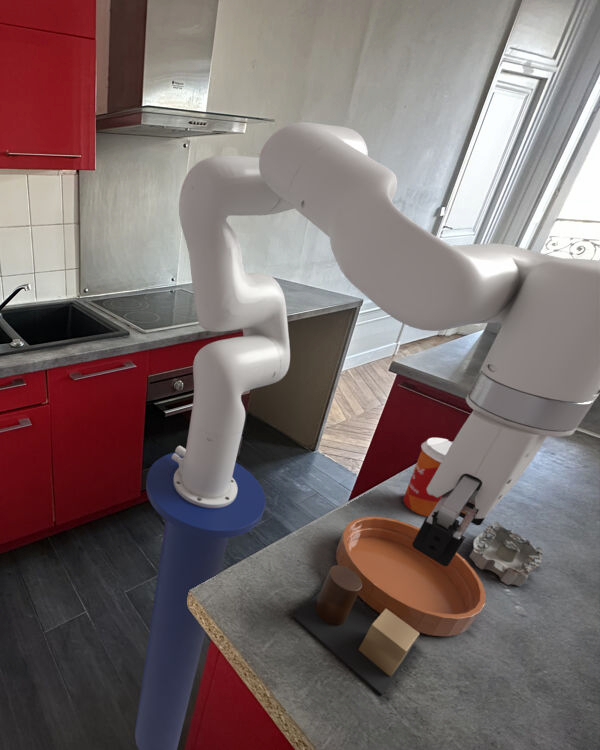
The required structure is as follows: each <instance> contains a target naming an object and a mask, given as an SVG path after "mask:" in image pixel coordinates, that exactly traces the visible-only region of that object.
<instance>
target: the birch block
mask: <svg viewBox="0 0 600 750" xmlns="http://www.w3.org/2000/svg"><path fill="white" fill-rule="evenodd" d="M419 636H420V632H417V631H416V630H415V629H413V628H412V627H411V626H409V625H408V624H406V623H405V622H404V621H402V620H401V619H400V618H398V617H397V616H396V615H394V614H393V613H392V612H390V611H389V610H388V609H385V610H384V611H383V612H382V613H381V614H380V613H379V616H378V617H377V619H376V620H375V621H374V622H373V624H372V625H371V627H370V629H369V631H368V633H367V634H366V636H365V638H364V640H363V642H362V644H361V646H360V648H359V651H360V652H362V653H363V654H364V655H365V656H366V657H367V658H369V659H370V660H371V661H372V662H373V663H375V664H376V665H377V666H378V667H379V668H380V669H382V670H383V671H384V672H385V673H386V674H388V675H389V676H390V677H391V676H392V674H393V673H394V672H395V670H396V669H397V668H398V666H399V665H400V664H401V662H402V661H403V659H404V658H405V656H406V655H407V653H408V651H409V650H410V648H411V647H412V645H413V646H414V644H415V642H416V640H417V639H418V637H419Z"/></svg>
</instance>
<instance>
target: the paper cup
mask: <svg viewBox="0 0 600 750" xmlns="http://www.w3.org/2000/svg"><path fill="white" fill-rule="evenodd" d="M452 443H453V441H450V440H449V439H447V438H443V437H429V438H428V439H426V440H425V441H424V442H422V443H421V445H420V448H421V450H420V453H419V456H418V459H417V462H416V464H415V467H414V469H413V471H412V474H411V477H410V480H409V482H408V484H407V488H406V491H405V493H404V496H403V504H404V505H405V506H406V507H407V508H408V509H409V510H410V511H412V512H413V513H416V514H418V515H421V516H424V517H427V516H428V517H429V515H430V514H431V512H432V511H433V509H434V508H435V506H436V505H437V503H438V502H439V500H440V499H441V497H442V496H443V495H442V496H440V497H438V498H437V497H435V496H433V495H429V494H428V492H427V487H428V485H429V483H430V482H431V480H432V478H433V476H434V475H435V473H436V471H437V469H438V468H439V466H440V464H441V462H442V461H443V459H444V457H445V455H446V453H447V452H448V450H449V448H450V446H451V445H452Z"/></svg>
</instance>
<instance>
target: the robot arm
mask: <svg viewBox="0 0 600 750" xmlns="http://www.w3.org/2000/svg"><path fill="white" fill-rule="evenodd" d="M397 188H398V178H397V176H396V174H395V172H393V171H392V170H391V169H390V168H389V167H387V166H385V165H383V164H381V162H380V163H379V162H378V161H376V160H374V159H373V158H371V157H370V156H369V150H368V147H367V143H366V141H365V139H364V138H363V137H362V135H361V134H360V133H359V132H357V131H356V130H354V129H352V128H349V127H348V126H347V127H346V126H342V125H335V124H334V125H332V124H325V123H317V122H309V121H308V122H307V121H303V122H302V121H301V122H294V123H291V124H288V125H285V126H283V127H281V128H280V129H278V130H277V131H275V132H274V133H273V134H272V135H271V136H270V137H269V138H268V139H267V140H266V141H265V143H264V145H263V146H262V149H261V151H260V154H259V157H258V156H248V155H236V154H235V155H234V154H223V155H215V156H210V157H206V158H204V159H202V160H200V161H198V162H197V163H195V165H193V167H191V169H190V170H189V171H188V173H187V174H186V176H185V179H184V181H183V184H182V186H181V189H180V192H179V193H180V194H179V199H178V200H179V201H178V215H179V222H180V226H181V229H182V234H183V237H184V241H185V243H186V248H187V252H188V258H189V266H190V267H189V268H190V276H191V284H192V293H193V301H194V308H195V314H196V318H197V319H196V320H197V322H198V324H199V325H200V327H201V328H202V329H203V330H205V331H207V332H212V333H222V332H230V331H236V330H242V333H243V334H242V336H236V337H231V338H225V339H220V340H216V341H213V342H210V343H208V344H206V345H204V346H203V347H201V348H200V349H199V350H198V352H197V353H196V355H195V356H194V360H193V363H192V375H193V401H192V408H191V413H190V414H191V415H190V421H189V426H188V427H189V428H188V435H187V441H186V447H183V446H181V445H178V446H177V447H176V448H175V451H174V453H175V454H173V455H172V459H173V460H174V461H176V462H178V463H179V468H178V469H177V470H176V472H175V474H174V479H173V481H174V487H175V489H176V491H177V492H178V493H179V494H180V495H181V496H182V497H183V498H184V499H185V500H187V501H189V502H190V503H193V504H195V505H198V506H201V507H206V508H221V507H224V506H227V505H229V504H231V503H232V502H233V501H234V500H235V498H236V495H237V490H238V488H237V484H236V482H235V480H234V479H233V477H232V475H233V471H234V466H235V462H236V463H237V457H238V453H239V448H240V443H241V440H242V436H243V435H242V434H243V431H244V426H245V422H246V409H245V406H244V404H243V401H242V395H243V394H244V393H245V392H249V391H251V390H253V389H257V388H262V387H265V386H269V385H272V384H275V383H277V382H279V381H281V380H282V379H283V378H284V377H285V376H286V375H287V373H288V371H289V369H290V363H291V348H290V336H289V323H288V314H287V304H286V298H285V294H284V291H283V289H282V287H281V285H280V284H279V282H278V281H277V280H276V279H275V278H274V277H273V276H271V275H270V274H267V273H263V272H246V273H245V269H244V263H243V250H242V246H241V243H240V240H239V238H238V236H237V234H236V232H235V231H234V229H233V228H232V226H231V225H230V224H229V222H228V220H227V218H228V217H231V216H233V217H234V216H239V217H240V216H241V217H242V216H243V217H245V216H246V217H247V216H271V215H276V214H279V213H283V212H286V211H287V212H288V211H291V210H293V209H294V210H296V211H297V212H298V213H300V214H301V215H302V216H303V217H305V218H306V219H307V220H308V221H309V222H311V223H312V224H313V225H314V226H315V227H317V228H318V229H319V230H320V231H321V232H323V234H325V235H326V236H327V237H328V239H329V244H330V249H331V252H332V254H333V257H334V259H335V262H336V263H337V266H338V267H339V270H340V271H341V273H342V274H343V275H344V277H345V278H346V279H347V280H348V281H349V283H351V285H353V287H355V288H356V290H358V291H359V292H361V293H362V294H363V295H364V296H365V297H366V298H368V299H369V300H370V301H371V302H372V303H373V304H374V305H375V306H377V307H378V308H379V309H380V310H382V311H383V312H385V313H386V314H387V315H388V316H390V317H392V318H393V319H394V320H396V321H398V322H399V323H401V324H404V325H406V326H408V327H410V328H413V329H416V330H421V331H427V332H428V331H429V332H438V331H446V330H451V329H456V328H460V327H465V326H469V325H478V324H479V325H480V324H500V325H501V327H500V329H499V331H498V332H497V335H496V336H495V339H494V341H493V343H492V345H491V346H490V349H489V350H488V353H487V355H486V357H485V359H484V361H483V362H482V365H481V367H480V369H479V371H478V373H477V375H476V377H475V379H474V381H473V383H472V384H471V387H470V389H469V391H468V393H467V395H466V397H465V403H466V404H467V405H468V406H469V407H470V408H471V409H472V412H471V413H470V414H469V416H468V417H467V419H466V421H465V422H464V423H463V425H462V427H461V428H460V429H459V431H458V433H457V434H456V436H455V437H454V440H453V441H452V442H453V443H452V445H451V446H450V448H449V450H448V452H447V453H446V455H445V457H444V459H443V461H442V462H441V464H440V466H439V468H438V469H437V471H436V473H435V475H434V476H433V478H432V480H431V482H430V483H429V485H428V487H427V492H428V494H429V495H433V496H435V497H437V498H438V497H440V496H442V495H443V496H442V497H441V499H440V500H439V502H438V503H437V505H436V506H435V508H434V509H433V511H432V512H431V514H430V515H429V517H428V516H425V519H424V520H423V522H422V524H421V525H420V528H419V529H420V530H419V532H418V534H417V536H416V538H415V539H414V541H413V543H412V546H413V547H414V548H415V549H417V550H418V551H420V552H422V553H423V554H425V555H426V556H428V557H430V558H431V559H433V560H435V561H436V562H438V563H440V564H441V565H443V566H448V565H449V564H450V562H451V561H452V559H453V557H454V556H455V554H456V552H457V553H458V551H459V549H460V548H461V546H462V544H463V543H464V542H465V539H466V536H465V535H464V534H465V532H466V531H467V529H468V528H469V526H470V524H473V525H475V526H481V525H482V524H483V523H484V521H485V519H486V517H487V516H488V515H489V514H490V513H491V512H492V511H493V510H494V509H495V507H497V505H499V503H501V501H502V500H503V499H504V498H505V497H506V496H507V495H508V493H509V492H510V491H511V490H512V489H513V487H514V486H515V485H516V484H517V483H518V481H519V480H520V479H521V477H522V476H523V475H524V473H525V472H526V471H527V469H528V467H529V466H530V465H531V463H532V462H533V460H534V459H535V458H536V456H537V454H538V453H539V451H540V450H541V448H542V447H543V445H544V444H545V442H546V441H547V439H548V437H556V438H559V437H560V438H563V437H569V436H571V435H573V434H574V433H575V432H576V430H577V428H578V427H579V425H580V424H581V423H582V421H583V420H584V418H585V417H586V415H587V414H588V412H589V411H590V409H591V408H592V406H593V405H594V403H595V401H596V400H597V398H598V397H599V395H600V260H597V259H586V258H568V257H567V258H565V257H564V258H563V257H558V256H554V255H550V254H546V253H541V252H538V251H535V250H531V249H526V248H523V247H519V246H515V245H511V244H504V243H496V242H495V243H493V242H491V243H490V242H489V243H488V242H487V243H473V244H472V243H471V244H457V245H456V244H455V245H454V244H453V245H450V244H449V243H447V242H445V241H444V240H442V239H441V238H439V237H437V236H436V235H435V234H432V233H431V232H430V231H428V230H426V229H425V228H423V227H422V226H421V225H419V224H418V223H416V222H415V221H413V220H412V219H410V218H409V217H408V216H407V215H406V214H404V213H403V212H402V211H401V210H400V209H399V208H398V207H397V206H396V205H395V204H394V202H393V200H394V197H395V196H396V193H397V190H398V189H397ZM176 453H177V454H178V455H179V456H178V455H177V454H176ZM180 456H181V457H183V458H180ZM459 517H460V518H462V520H461V521H460V520H459V519H458V518H459Z"/></svg>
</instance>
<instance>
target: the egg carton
mask: <svg viewBox="0 0 600 750" xmlns="http://www.w3.org/2000/svg"><path fill="white" fill-rule="evenodd" d="M543 552H544V551H543V548H541V547H536V546H534V545H532V543H531V541H530V539H525V538H523V537H522V536H521V535H520V534H517V533H516V532H515V531H513V530H512V529H508V528H506V527H505V526H503V524H501V523H500V522H498V521H497V520H494V521H493V522H491V524H490V525H489V526H487V527H486V528H485V529H484V530H483V531H481V533H479V534H478V535H477V536H476V537H475V538H474V539H473V549H472V551H471V552H470V554H469V557H468V558H470V559H471V560H472V561H473V562H474V564H475V566H476V567H477V568H479V569H480V570H488V571H491V572H492V573H495V574H496V575H497V576H498V577H499V579H500V581H501V582H502V583H504V584H505V585H507V586H509V585H514V586H517V587H521V586H522V585H523V584H525V582H527V579H528V578H529V575H530V573H531V572H532V571H533V570H536V569H537V568H538V567H539V566H541V564H542V561H543V554H544V553H543Z"/></svg>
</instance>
